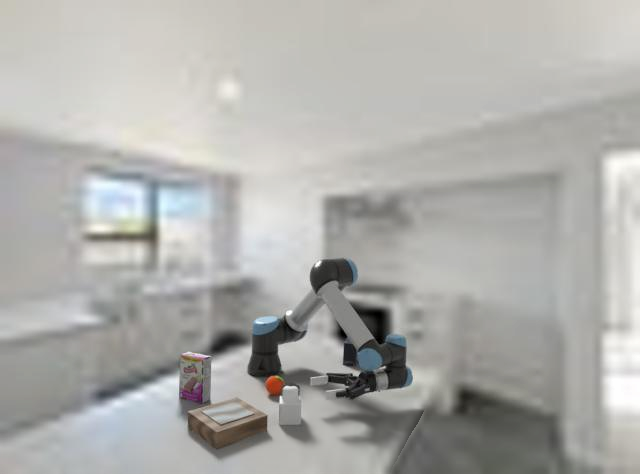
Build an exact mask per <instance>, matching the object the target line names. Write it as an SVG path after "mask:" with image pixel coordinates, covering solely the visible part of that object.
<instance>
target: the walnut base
mask: <svg viewBox="0 0 640 474" xmlns="http://www.w3.org/2000/svg"><path fill="white" fill-rule="evenodd" d="M268 416H269V415H268V414H266V413H265V412H263V411H261V410H259V409H258V408H256V407H254V406H253V405H251V404H249V403H247V402H246V401H244V400H242V399H240V398H239V397H234V398H230V399H225V400H223V401H219V402H216V403H213V404H209V405H205V406H202V407H199V408H195V409H191V410H188V411H187V428H189V430H191V431H192V432H194V433H195V434H196V435H197V436H199V437H200V438H201V439H202V440H204V442H206V443H207V444H209V445H210V446H212V447H213V448H214V449H215V450H218V449H221V448H224V447H227V446H229V445H231V444H235V443H237V442H241V441H243V440H246V439H248V438H252V437H254V436H256V435H259V434H262V433H265V432H267V431H268Z"/></svg>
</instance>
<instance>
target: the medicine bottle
mask: <svg viewBox="0 0 640 474" xmlns="http://www.w3.org/2000/svg"><path fill="white" fill-rule="evenodd" d="M283 384H284V385H283V386H282V391H281V392H280V393H281V394H280V396H279V408H278V409H279V410H278V413H279V414H278V415H279V417H278V425H279V426H301V424H302V397H301V394H300V393H301V392H300V388H301V387H300V385H298V384H296V383H293V382H292V383H291V382H289V383H283Z"/></svg>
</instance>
